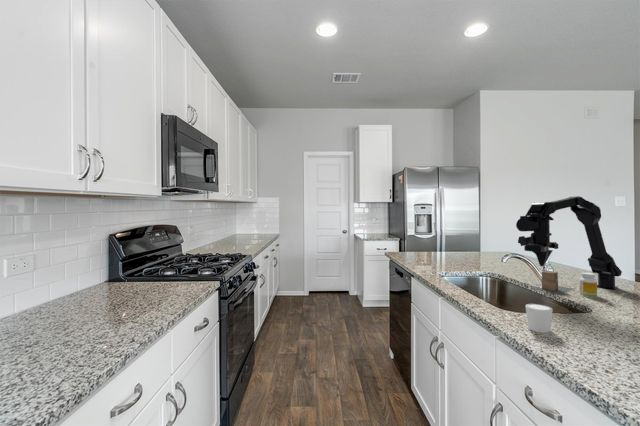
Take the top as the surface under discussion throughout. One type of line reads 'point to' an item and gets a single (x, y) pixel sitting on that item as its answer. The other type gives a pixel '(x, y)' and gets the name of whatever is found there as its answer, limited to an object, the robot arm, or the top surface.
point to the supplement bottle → (588, 285)
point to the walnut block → (550, 280)
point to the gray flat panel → (560, 290)
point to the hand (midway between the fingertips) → (541, 266)
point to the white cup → (539, 317)
